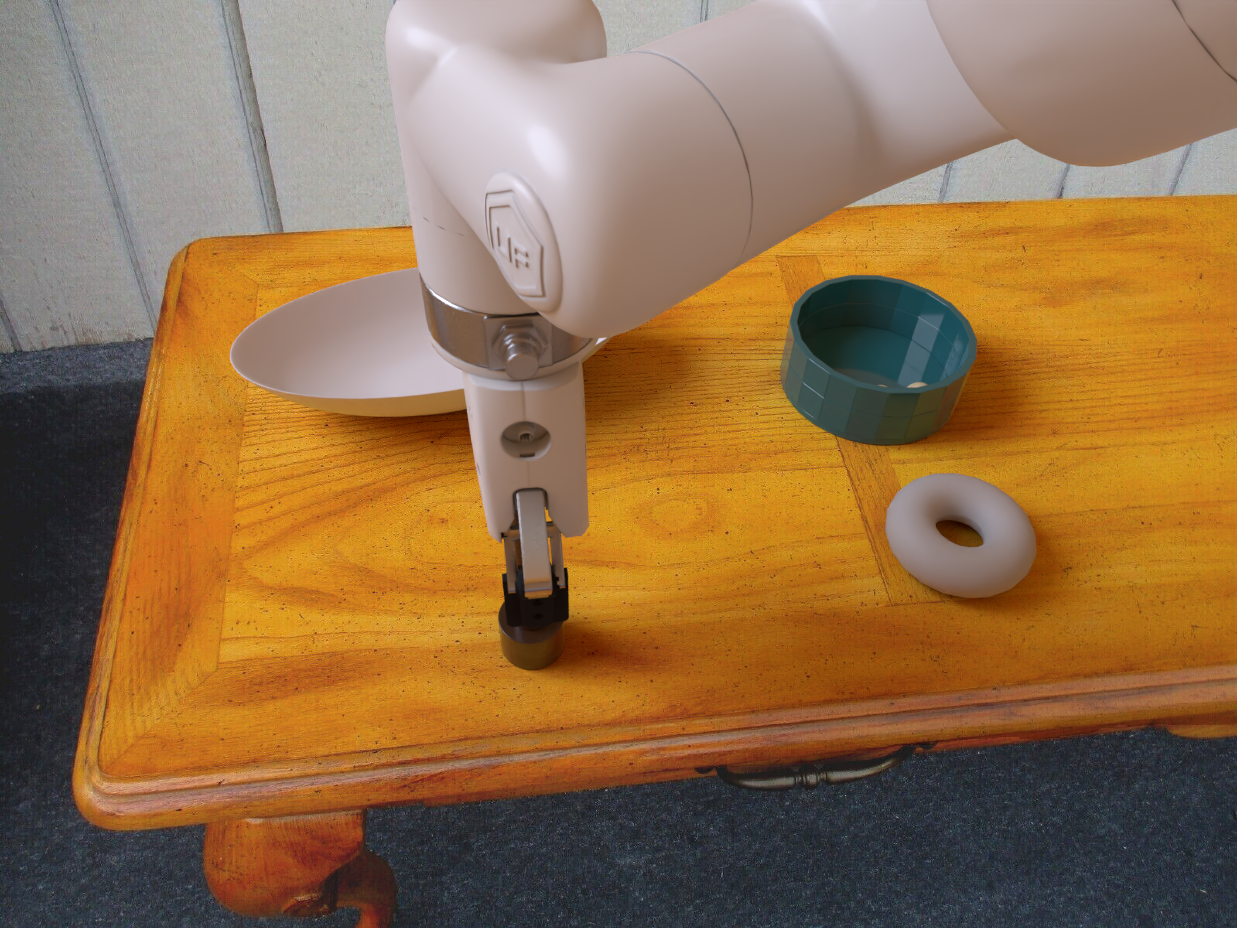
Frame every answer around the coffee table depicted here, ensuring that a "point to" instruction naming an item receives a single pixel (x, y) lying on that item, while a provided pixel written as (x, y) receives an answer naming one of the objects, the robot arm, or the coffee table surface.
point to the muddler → (529, 635)
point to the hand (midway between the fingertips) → (530, 546)
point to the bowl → (354, 351)
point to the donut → (947, 562)
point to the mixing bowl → (876, 359)
